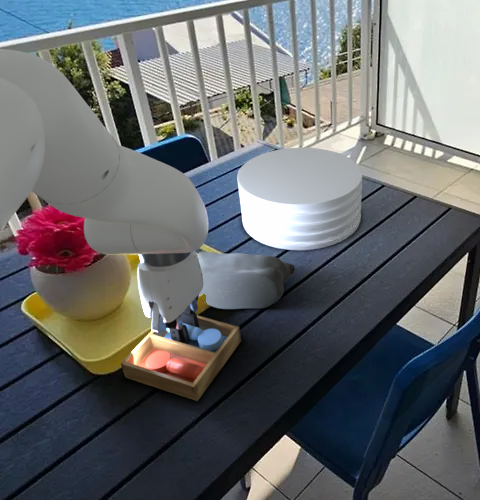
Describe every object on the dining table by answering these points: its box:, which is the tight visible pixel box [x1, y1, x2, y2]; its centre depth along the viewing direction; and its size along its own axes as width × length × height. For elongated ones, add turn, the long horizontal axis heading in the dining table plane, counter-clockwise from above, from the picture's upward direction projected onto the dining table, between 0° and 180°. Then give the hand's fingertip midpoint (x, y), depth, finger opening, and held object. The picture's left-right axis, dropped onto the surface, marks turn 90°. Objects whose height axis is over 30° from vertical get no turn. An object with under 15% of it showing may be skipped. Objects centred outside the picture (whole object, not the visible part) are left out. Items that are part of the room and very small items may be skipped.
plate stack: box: [236, 147, 363, 251], centre depth 116 cm, size 28×28×12 cm
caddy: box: [120, 314, 242, 402], centre depth 81 cm, size 13×13×3 cm
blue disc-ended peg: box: [166, 323, 222, 351], centre depth 83 cm, size 10×4×2 cm, turn 71°
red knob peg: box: [146, 351, 204, 380], centre depth 78 cm, size 10×4×2 cm, turn 71°
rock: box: [197, 250, 296, 310], centre depth 94 cm, size 18×11×8 cm, turn 89°
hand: (186, 334), depth 84 cm, fingers closed on blue disc-ended peg, 2 cm apart
